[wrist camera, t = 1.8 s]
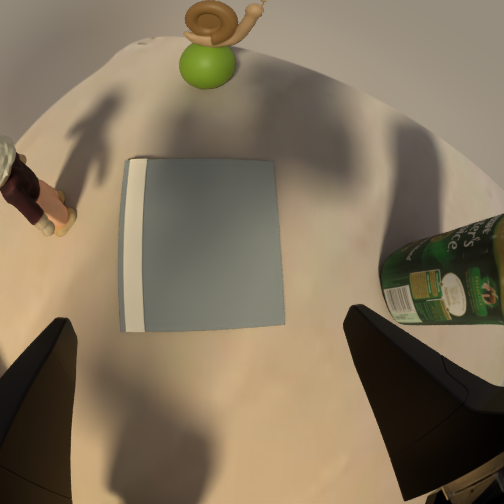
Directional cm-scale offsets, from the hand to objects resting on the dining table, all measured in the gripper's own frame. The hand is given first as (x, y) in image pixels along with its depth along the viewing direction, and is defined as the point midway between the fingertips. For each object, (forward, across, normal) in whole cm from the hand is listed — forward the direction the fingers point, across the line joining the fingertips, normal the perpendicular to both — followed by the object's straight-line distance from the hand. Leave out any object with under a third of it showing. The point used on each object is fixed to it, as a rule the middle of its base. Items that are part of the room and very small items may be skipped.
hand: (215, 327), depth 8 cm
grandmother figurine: (+16, +12, +4) cm, 20 cm away
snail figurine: (+25, -1, -8) cm, 26 cm away
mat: (+14, 0, +5) cm, 15 cm away
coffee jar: (+10, -22, +8) cm, 25 cm away
